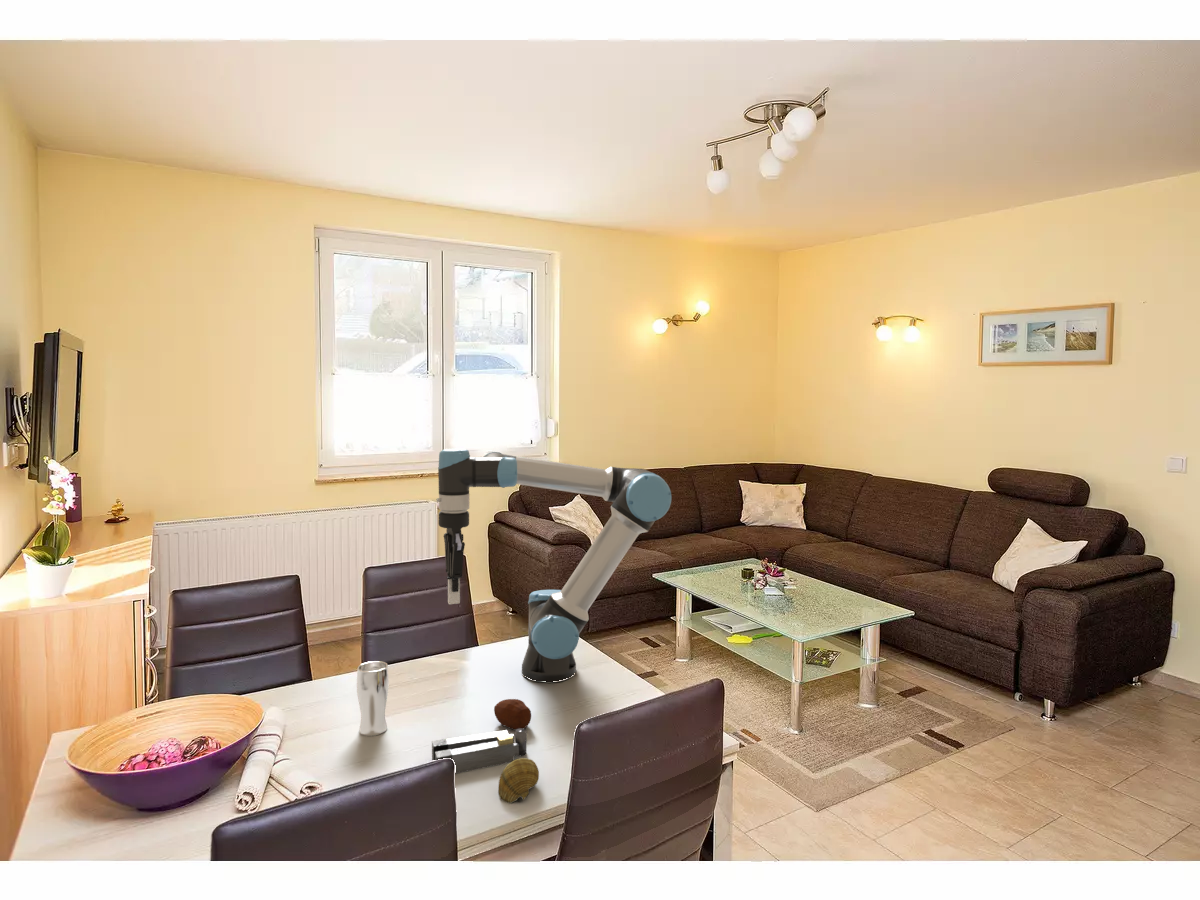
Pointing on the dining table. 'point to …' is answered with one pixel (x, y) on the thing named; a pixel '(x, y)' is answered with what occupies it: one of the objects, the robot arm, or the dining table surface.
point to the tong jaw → (466, 741)
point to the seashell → (517, 779)
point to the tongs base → (487, 752)
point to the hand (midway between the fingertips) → (453, 603)
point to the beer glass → (372, 697)
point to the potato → (512, 713)
